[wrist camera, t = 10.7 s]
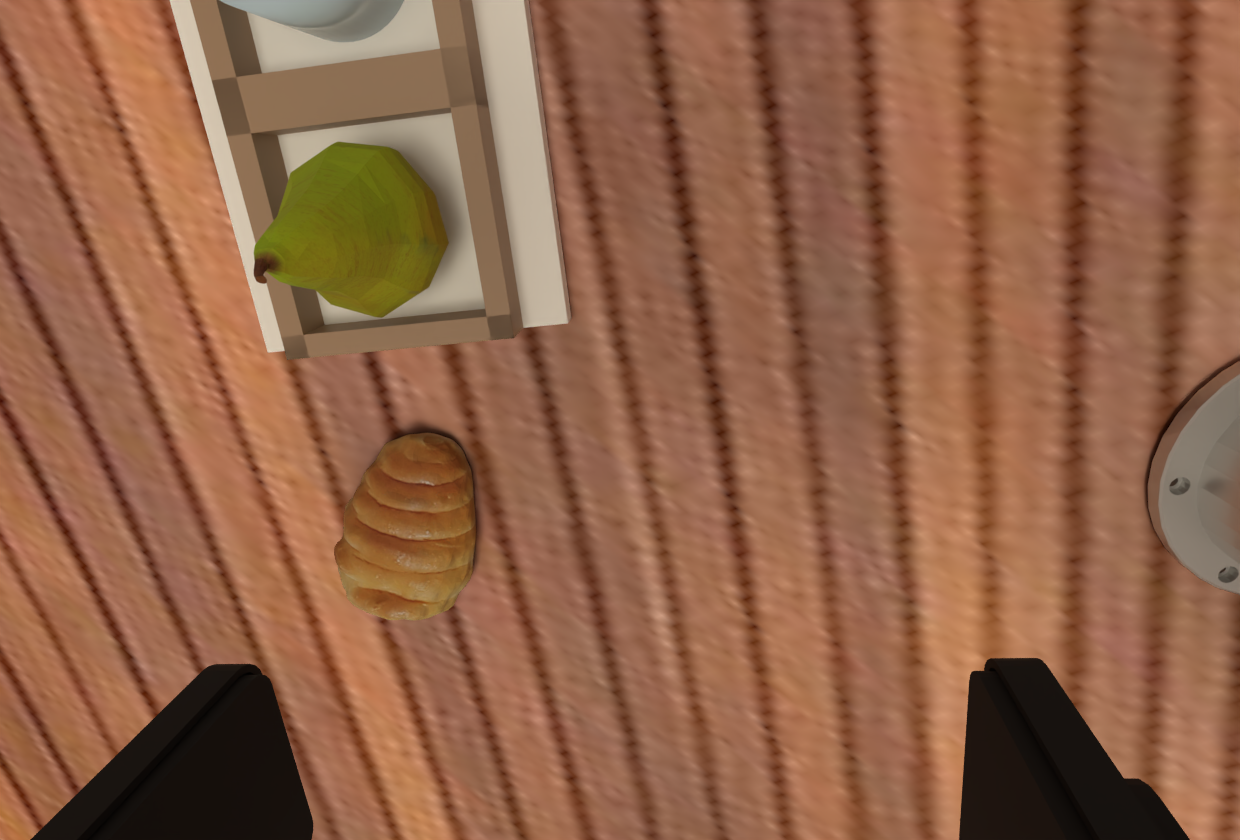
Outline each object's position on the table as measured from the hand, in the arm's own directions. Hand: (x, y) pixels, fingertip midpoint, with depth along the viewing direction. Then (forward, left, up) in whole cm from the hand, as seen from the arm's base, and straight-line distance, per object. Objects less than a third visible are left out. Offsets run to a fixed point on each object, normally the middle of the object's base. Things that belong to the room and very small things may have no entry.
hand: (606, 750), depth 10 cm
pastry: (+13, +9, -25) cm, 30 cm away
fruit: (+10, -6, -24) cm, 27 cm away
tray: (+11, -11, -25) cm, 29 cm away
